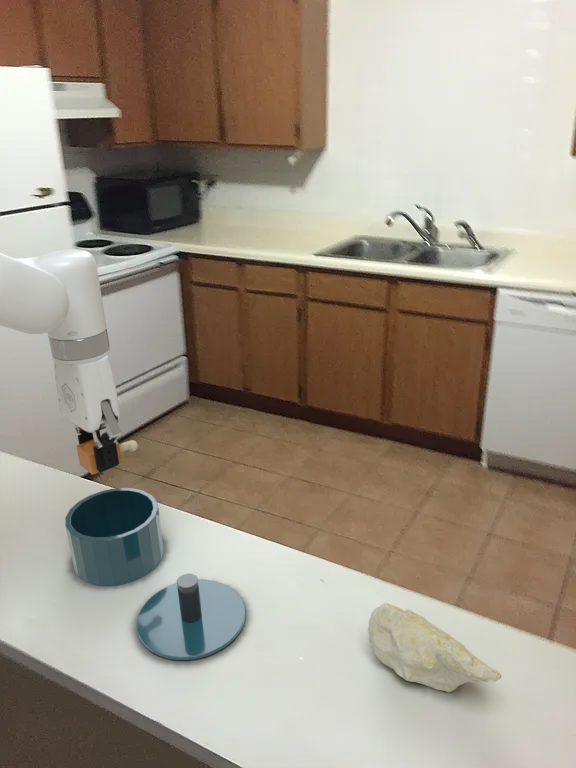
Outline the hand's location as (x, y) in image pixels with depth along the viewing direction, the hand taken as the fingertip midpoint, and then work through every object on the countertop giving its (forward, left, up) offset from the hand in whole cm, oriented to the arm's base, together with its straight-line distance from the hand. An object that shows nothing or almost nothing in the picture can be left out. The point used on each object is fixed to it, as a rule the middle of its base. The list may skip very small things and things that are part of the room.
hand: (100, 460), depth 97 cm
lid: (-9, -17, -17) cm, 26 cm away
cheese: (-8, -50, -18) cm, 54 cm away
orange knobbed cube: (+2, -1, 0) cm, 2 cm away
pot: (0, 0, -18) cm, 18 cm away
